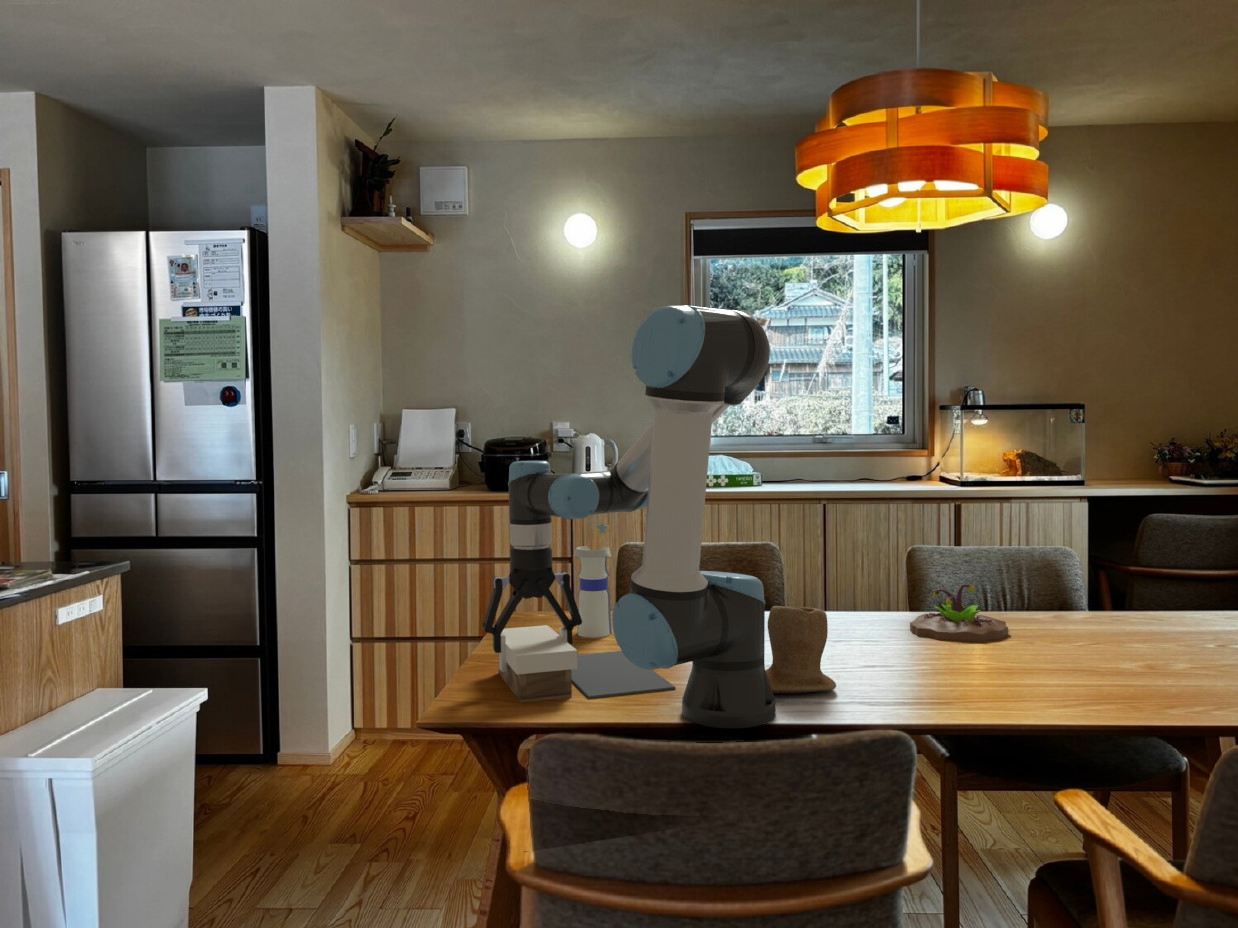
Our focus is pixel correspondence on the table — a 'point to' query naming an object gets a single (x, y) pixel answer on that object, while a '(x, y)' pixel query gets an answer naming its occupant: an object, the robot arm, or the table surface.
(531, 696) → the walnut box
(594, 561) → the water bottle
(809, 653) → the brown suede boot shape
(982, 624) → the plant
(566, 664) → the lid
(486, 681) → the table surface
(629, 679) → the rubber mat
